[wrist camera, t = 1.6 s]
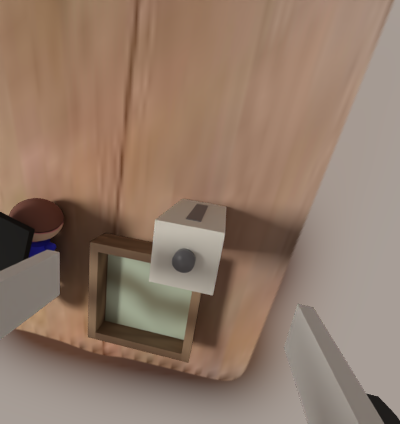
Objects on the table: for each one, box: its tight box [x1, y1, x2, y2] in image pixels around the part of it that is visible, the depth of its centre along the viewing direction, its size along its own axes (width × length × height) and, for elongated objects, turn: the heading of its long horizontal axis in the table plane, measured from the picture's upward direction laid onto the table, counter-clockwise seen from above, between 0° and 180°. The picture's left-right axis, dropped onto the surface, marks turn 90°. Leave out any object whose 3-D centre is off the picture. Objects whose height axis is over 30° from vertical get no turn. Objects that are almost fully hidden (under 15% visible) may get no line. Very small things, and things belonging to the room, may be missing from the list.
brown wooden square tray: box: [88, 233, 201, 363], centre depth 25 cm, size 13×13×3 cm
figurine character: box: [0, 198, 64, 271], centre depth 24 cm, size 7×8×15 cm
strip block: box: [149, 199, 226, 295], centre depth 19 cm, size 5×5×10 cm
